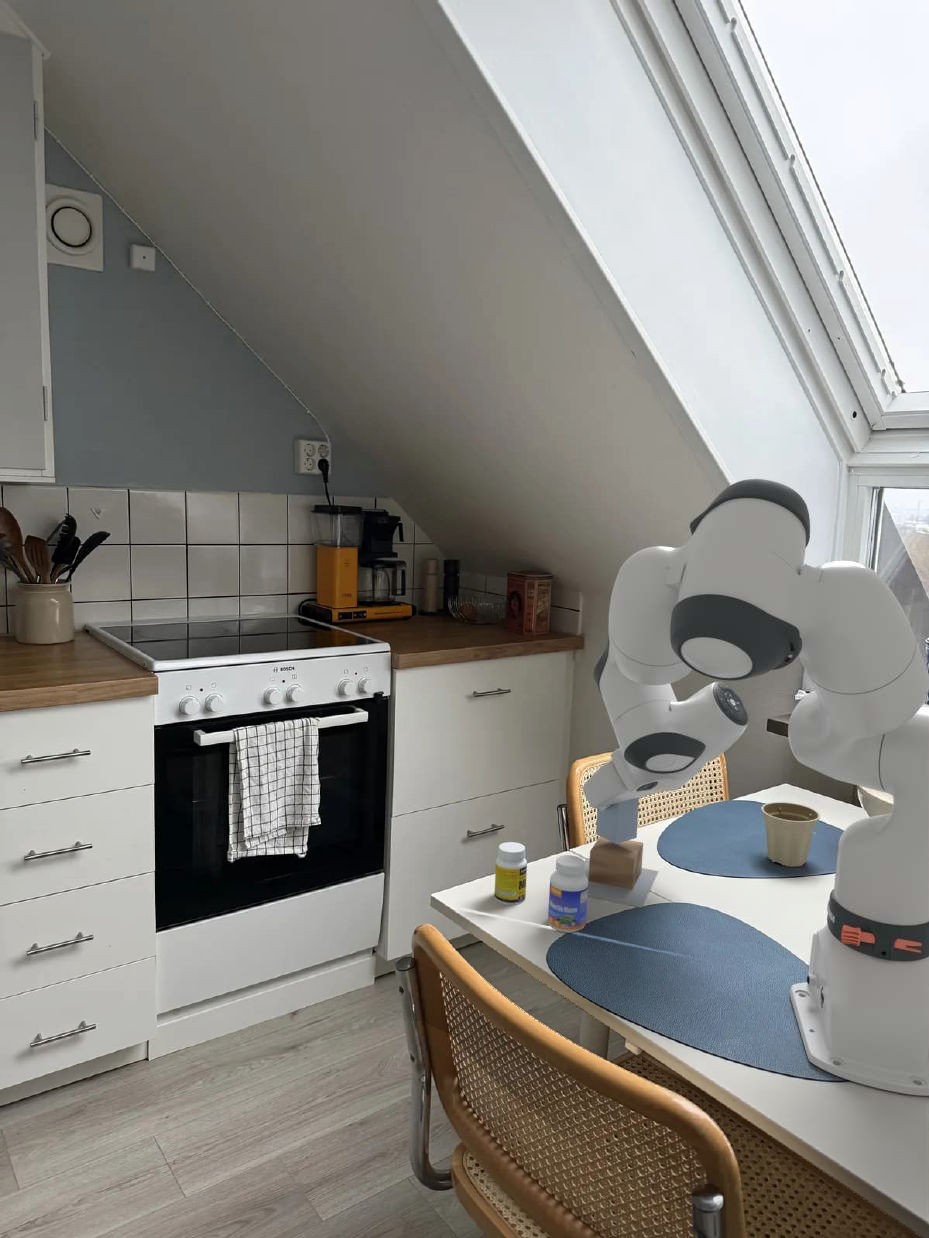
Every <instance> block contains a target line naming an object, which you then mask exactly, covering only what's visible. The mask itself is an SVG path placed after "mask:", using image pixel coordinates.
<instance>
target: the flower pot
mask: <svg viewBox="0 0 929 1238" xmlns="http://www.w3.org/2000/svg"><path fill="white" fill-rule="evenodd" d="M760 809H761V812H762V814H763V820H764V822H765V831H766V846H767V847H766V848H767V850H766V851H767V857H768V859H769V860H770V859H771V860H772V861H771V860H770V861H771V862H773V863H774V862H777V863H778V864H781V865H782V866H784V865H785V867H802V866H803V865H804V864H806V863H807V860H808V855H809V851H810V846H811V842H812V839H813V834H814V831H815V828H816V826H817V823H818V821H819V820H820V819H821V813H819V811H818V810H816V809H814V808H812V807H809V806H806V805H804V804H801V803H800V804H799V803H795V802H788V801H774V802H768V803H764V804H763V805H762V806H761V807H760Z"/></svg>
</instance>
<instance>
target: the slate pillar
mask: <svg viewBox="0 0 929 1238" xmlns="http://www.w3.org/2000/svg"><path fill="white" fill-rule="evenodd" d="M639 801H640V799H639V798H635V799H631V800H627V801H623V802H619V803H615V804H614V805H613V806H612V807H610V809H607V810H603V811H601V810H600V809H599V808H596V809H597V811H596V827H595V828H596V829H595V835H597V836H599V837H600V836H601V837H603V838H605V839H607V840H609V841H611V842H613V843H615V844H617V843H621V842H624V841H628V840H631V841H632V840H634V839H637V838H638V837H637V836H638V835H637V834H638V821H639Z"/></svg>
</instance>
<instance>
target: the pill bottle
mask: <svg viewBox="0 0 929 1238" xmlns="http://www.w3.org/2000/svg"><path fill="white" fill-rule="evenodd" d="M584 861H585V860H584V859H583V858H581V857H579V856H575V855H571V854H569V855H568V854H567V855H565V854H564V855H561V856H558V857H557V858H556V860H555V871H553V872H552V873H551V875H550V878H549V892H548V893H549V894H548V895H549V896H548V908H547V909H548V911H547V913H548V914H547V923H548V925H549V927H550V928H552V929H553V930H555V931H557V932H561V933H564V934H565V933H567V934H570V933H571V934H572V933H574V934H575V933H578V931H580V930H582V929H584V927H585V926H586V923H587V922H586V921H587V909H588V897H587V894H588V878H587V877H586V875H585V874H584V873H583V872H584Z"/></svg>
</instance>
